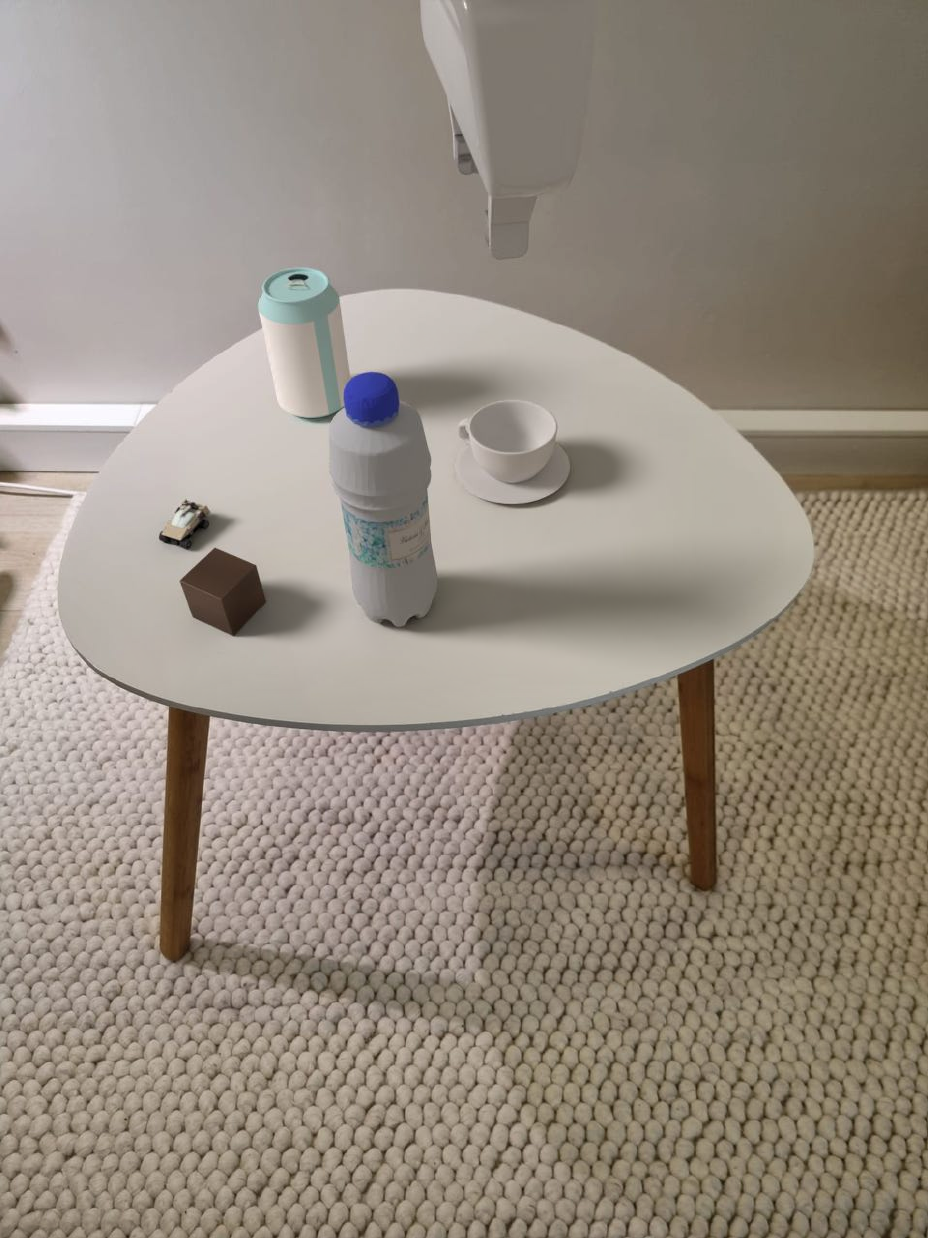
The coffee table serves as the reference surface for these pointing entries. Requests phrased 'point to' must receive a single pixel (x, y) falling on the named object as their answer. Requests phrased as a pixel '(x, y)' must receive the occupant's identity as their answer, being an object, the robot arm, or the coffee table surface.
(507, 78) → the robot arm
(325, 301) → the can
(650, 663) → the coffee table surface
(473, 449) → the teacup
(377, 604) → the bottle
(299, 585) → the coffee table surface
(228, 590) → the walnut block
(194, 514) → the toy car
